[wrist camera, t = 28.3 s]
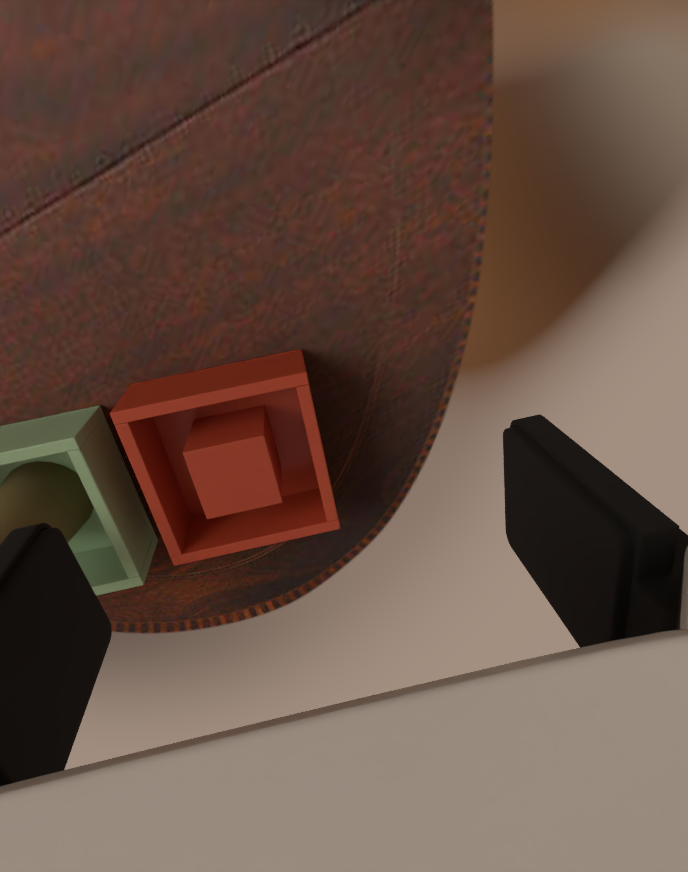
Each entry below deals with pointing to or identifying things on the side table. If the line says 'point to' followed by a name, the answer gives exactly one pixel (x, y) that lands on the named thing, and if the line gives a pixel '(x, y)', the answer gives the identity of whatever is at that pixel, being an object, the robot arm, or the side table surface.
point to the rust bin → (212, 395)
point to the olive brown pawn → (43, 499)
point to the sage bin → (90, 493)
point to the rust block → (234, 462)
